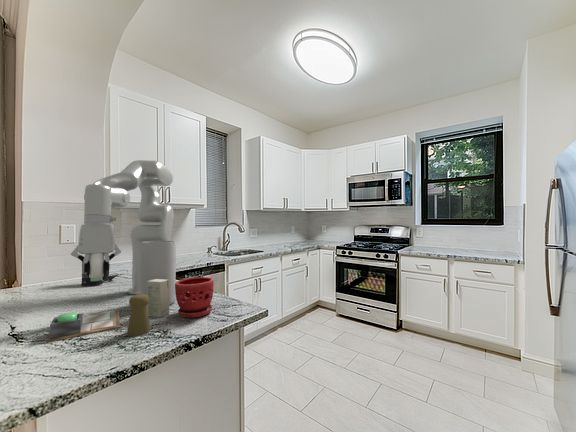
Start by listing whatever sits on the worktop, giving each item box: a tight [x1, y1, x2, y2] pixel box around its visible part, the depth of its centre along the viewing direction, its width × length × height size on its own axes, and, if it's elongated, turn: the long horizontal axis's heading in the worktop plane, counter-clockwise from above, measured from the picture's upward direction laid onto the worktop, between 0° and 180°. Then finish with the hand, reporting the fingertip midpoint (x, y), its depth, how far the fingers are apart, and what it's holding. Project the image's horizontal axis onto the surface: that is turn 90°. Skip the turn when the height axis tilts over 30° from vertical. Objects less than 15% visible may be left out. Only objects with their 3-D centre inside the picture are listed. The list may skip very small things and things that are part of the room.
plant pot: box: [175, 276, 214, 319], centre depth 93 cm, size 13×13×12 cm
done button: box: [57, 312, 78, 323], centre depth 76 cm, size 4×4×2 cm
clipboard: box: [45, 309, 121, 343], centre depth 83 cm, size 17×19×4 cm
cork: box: [126, 294, 151, 337], centre depth 78 cm, size 6×6×11 cm
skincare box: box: [147, 279, 170, 318], centre depth 92 cm, size 6×4×12 cm
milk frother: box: [80, 256, 119, 287], centre depth 141 cm, size 14×16×15 cm
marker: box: [89, 252, 105, 281], centre depth 89 cm, size 4×4×10 cm
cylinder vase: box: [141, 240, 177, 306], centre depth 105 cm, size 12×12×25 cm
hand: (96, 273), depth 89 cm, fingers closed on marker, 4 cm apart
